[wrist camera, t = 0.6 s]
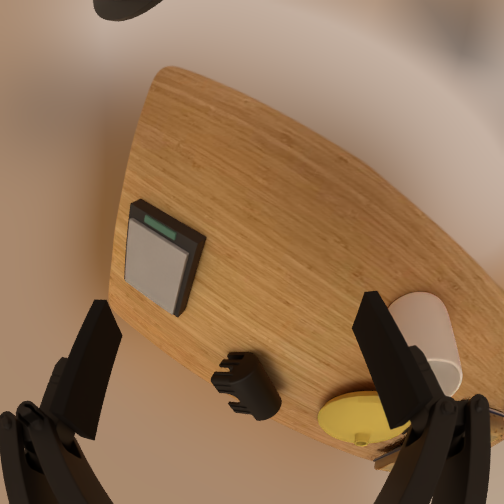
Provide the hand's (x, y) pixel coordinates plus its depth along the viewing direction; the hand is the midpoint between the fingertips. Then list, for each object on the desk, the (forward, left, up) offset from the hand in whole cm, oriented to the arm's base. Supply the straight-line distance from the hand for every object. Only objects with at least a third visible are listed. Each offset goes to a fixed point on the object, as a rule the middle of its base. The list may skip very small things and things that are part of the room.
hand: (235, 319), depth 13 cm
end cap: (+26, +5, -16) cm, 31 cm away
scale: (+15, -15, -16) cm, 27 cm away
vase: (+22, +24, -16) cm, 37 cm away
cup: (+5, +18, -16) cm, 25 cm away
